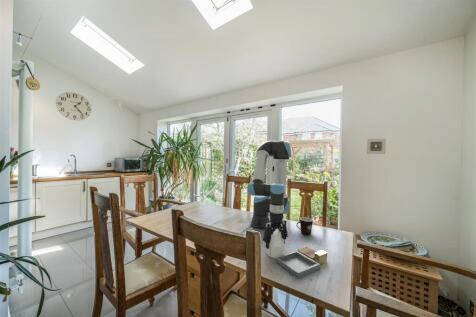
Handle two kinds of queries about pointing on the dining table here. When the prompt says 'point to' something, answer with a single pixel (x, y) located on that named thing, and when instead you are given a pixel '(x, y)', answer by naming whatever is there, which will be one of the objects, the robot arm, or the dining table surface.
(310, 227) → the coffee mug
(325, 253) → the block
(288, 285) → the dining table surface
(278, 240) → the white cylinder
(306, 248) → the tan rounded-edge slab
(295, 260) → the tray
